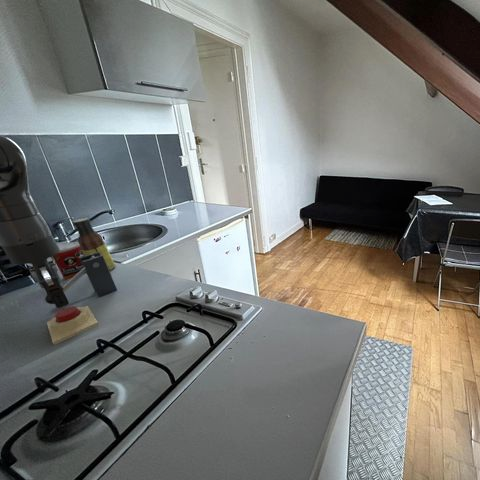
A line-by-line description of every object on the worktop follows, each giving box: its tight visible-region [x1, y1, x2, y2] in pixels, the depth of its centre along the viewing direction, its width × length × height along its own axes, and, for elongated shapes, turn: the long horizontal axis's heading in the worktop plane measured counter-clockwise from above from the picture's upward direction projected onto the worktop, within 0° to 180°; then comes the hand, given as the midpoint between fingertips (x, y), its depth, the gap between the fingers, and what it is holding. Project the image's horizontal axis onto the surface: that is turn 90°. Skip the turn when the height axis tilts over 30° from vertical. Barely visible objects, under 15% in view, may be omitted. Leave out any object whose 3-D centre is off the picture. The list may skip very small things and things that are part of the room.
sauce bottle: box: [72, 217, 116, 272], centre depth 87 cm, size 6×6×20 cm
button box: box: [46, 305, 100, 345], centre depth 63 cm, size 11×8×4 cm
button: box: [54, 305, 80, 323], centre depth 62 cm, size 4×4×2 cm
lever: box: [44, 255, 95, 305], centre depth 71 cm, size 15×3×3 cm
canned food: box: [52, 241, 87, 281], centre depth 89 cm, size 8×8×11 cm
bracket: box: [79, 252, 118, 298], centre depth 75 cm, size 11×9×13 cm
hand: (63, 305), depth 61 cm, fingers closed
